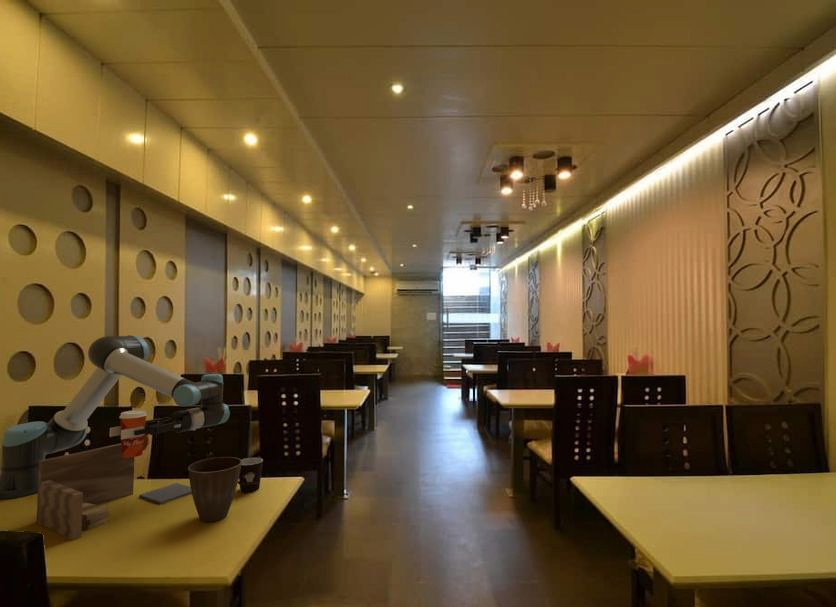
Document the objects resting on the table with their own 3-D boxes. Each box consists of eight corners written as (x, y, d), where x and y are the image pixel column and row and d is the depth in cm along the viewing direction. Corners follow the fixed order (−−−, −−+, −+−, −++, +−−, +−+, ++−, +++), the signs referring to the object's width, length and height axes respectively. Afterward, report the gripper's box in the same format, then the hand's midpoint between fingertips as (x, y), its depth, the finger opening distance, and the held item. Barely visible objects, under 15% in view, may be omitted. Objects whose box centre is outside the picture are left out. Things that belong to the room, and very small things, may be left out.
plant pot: (251, 510, 134) (252, 459, 135) (215, 531, 120) (216, 473, 121) (213, 504, 139) (214, 455, 140) (174, 524, 125) (176, 469, 126)
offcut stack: (56, 526, 125) (56, 510, 125) (80, 516, 131) (81, 501, 132) (86, 531, 121) (87, 515, 122) (110, 521, 128) (110, 506, 128)
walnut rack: (36, 521, 127) (39, 460, 128) (130, 492, 150) (132, 441, 151) (72, 540, 116) (75, 472, 117) (168, 506, 138) (170, 449, 139)
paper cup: (124, 460, 133) (125, 415, 133) (113, 456, 137) (114, 412, 138) (151, 454, 139) (152, 411, 140) (139, 450, 143) (141, 408, 144)
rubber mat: (139, 497, 146) (139, 494, 146) (176, 485, 157) (176, 482, 157) (160, 504, 139) (160, 501, 139) (198, 491, 151) (198, 489, 151)
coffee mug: (266, 485, 156) (267, 457, 157) (255, 494, 147) (256, 465, 148) (236, 484, 157) (237, 457, 158) (223, 493, 149) (224, 464, 149)
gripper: (202, 433, 149) (131, 449, 129) (171, 427, 159) (100, 441, 139) (203, 412, 149) (132, 424, 129) (172, 407, 159) (101, 418, 139)
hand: (116, 433), depth 134 cm, fingers closed on paper cup, 6 cm apart
